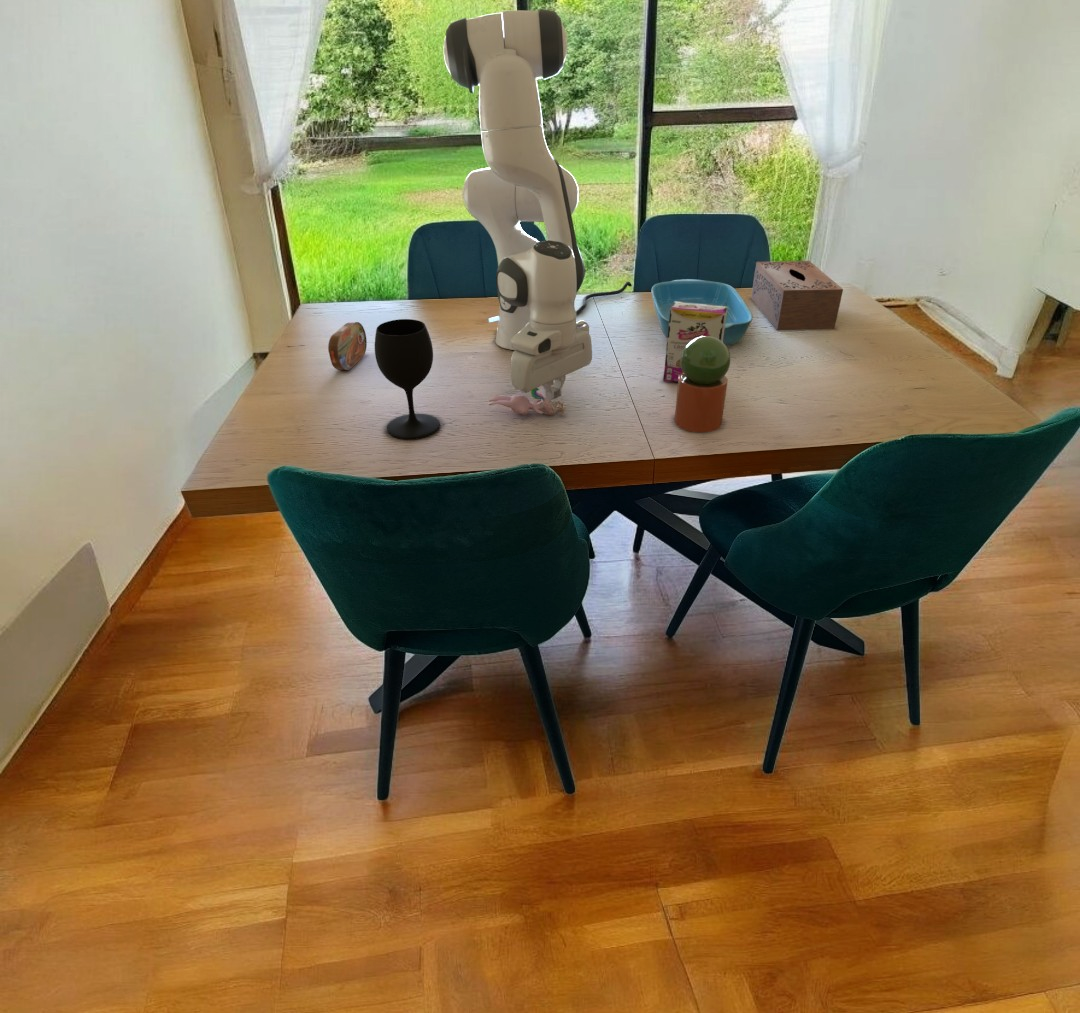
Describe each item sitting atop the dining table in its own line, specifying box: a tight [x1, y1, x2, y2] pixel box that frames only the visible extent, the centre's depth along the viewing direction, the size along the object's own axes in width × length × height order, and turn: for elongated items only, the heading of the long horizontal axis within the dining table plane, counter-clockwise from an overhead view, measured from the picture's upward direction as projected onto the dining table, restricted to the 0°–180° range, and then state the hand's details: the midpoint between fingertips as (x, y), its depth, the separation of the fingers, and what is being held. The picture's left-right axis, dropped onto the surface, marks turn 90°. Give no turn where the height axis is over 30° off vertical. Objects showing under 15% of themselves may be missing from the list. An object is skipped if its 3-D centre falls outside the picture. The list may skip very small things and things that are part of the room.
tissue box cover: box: [750, 260, 844, 331], centre depth 188 cm, size 26×14×10 cm, turn 0°
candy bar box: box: [663, 301, 727, 384], centre depth 151 cm, size 11×5×16 cm, turn 71°
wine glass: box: [374, 318, 441, 441], centre depth 134 cm, size 10×10×20 cm
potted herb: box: [674, 336, 731, 433], centre depth 135 cm, size 9×9×17 cm
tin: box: [327, 321, 368, 371], centre depth 165 cm, size 15×3×8 cm, turn 168°
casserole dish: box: [651, 278, 754, 347], centre depth 181 cm, size 37×22×7 cm, turn 179°
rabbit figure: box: [488, 387, 566, 417], centre depth 142 cm, size 6×6×15 cm
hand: (553, 397), depth 146 cm, fingers closed
